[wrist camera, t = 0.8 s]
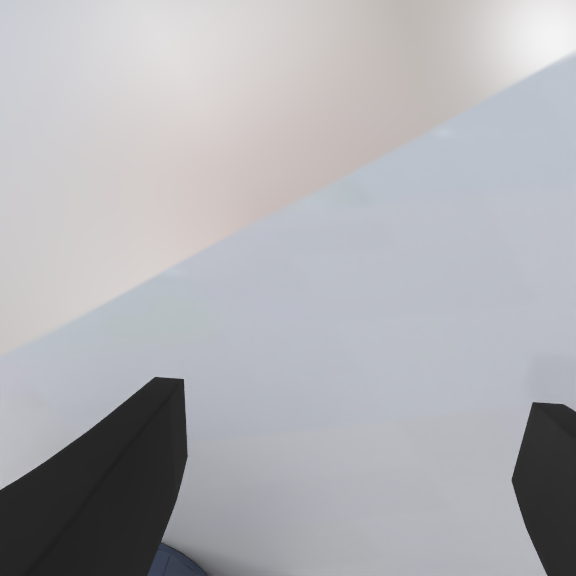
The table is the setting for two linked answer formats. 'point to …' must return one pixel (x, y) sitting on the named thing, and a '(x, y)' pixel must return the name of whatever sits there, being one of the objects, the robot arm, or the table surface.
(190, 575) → the canister
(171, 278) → the table surface
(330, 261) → the table surface
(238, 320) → the table surface
